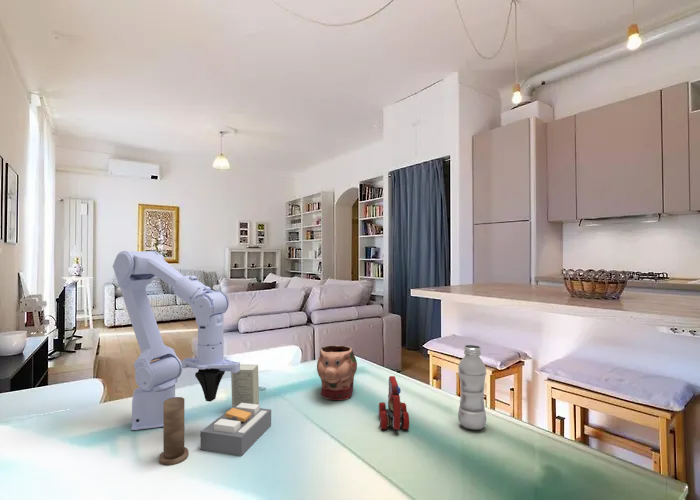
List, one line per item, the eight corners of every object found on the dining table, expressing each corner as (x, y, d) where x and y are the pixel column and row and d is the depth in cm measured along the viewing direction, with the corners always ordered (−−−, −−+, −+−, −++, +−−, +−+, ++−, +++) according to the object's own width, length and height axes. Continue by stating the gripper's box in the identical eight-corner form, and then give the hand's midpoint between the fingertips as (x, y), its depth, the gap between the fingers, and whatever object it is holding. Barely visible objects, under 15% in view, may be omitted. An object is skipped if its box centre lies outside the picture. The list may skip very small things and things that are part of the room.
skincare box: (259, 408, 102) (259, 364, 102) (253, 415, 98) (253, 369, 98) (237, 407, 103) (237, 363, 103) (230, 414, 98) (230, 368, 98)
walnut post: (156, 467, 75) (156, 407, 75) (162, 452, 80) (162, 397, 80) (186, 463, 76) (186, 404, 76) (190, 448, 82) (190, 394, 82)
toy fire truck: (381, 436, 88) (381, 392, 88) (378, 412, 100) (378, 374, 100) (411, 436, 88) (411, 392, 88) (404, 413, 100) (404, 374, 100)
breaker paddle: (224, 419, 86) (225, 413, 86) (231, 413, 89) (232, 407, 89) (243, 425, 85) (244, 418, 85) (250, 419, 88) (251, 412, 88)
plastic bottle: (488, 435, 88) (489, 351, 88) (458, 432, 90) (459, 349, 89) (484, 422, 95) (484, 344, 94) (456, 419, 96) (457, 342, 96)
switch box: (200, 449, 81) (200, 425, 81) (235, 420, 95) (235, 399, 95) (241, 456, 79) (241, 430, 79) (271, 425, 92) (271, 403, 92)
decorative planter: (321, 380, 124) (321, 338, 124) (357, 381, 123) (357, 339, 123) (312, 406, 104) (312, 356, 104) (356, 407, 103) (356, 357, 103)
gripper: (172, 345, 86) (172, 403, 86) (228, 349, 83) (228, 410, 83) (192, 337, 93) (192, 391, 93) (244, 341, 90) (244, 397, 90)
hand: (210, 399), depth 89 cm, fingers closed
